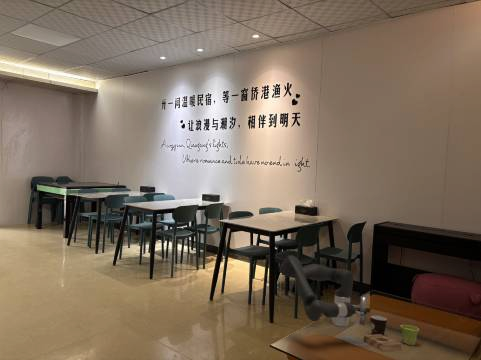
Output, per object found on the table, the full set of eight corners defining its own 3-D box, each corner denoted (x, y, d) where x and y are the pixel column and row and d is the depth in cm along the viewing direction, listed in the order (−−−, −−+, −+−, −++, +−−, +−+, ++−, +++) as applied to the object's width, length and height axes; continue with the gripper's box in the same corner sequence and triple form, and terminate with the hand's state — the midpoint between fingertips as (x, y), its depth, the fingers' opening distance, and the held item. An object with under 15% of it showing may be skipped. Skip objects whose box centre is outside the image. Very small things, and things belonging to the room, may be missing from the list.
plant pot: (415, 348, 200) (416, 331, 201) (397, 342, 206) (398, 326, 207) (420, 344, 207) (421, 328, 208) (403, 339, 213) (403, 323, 214)
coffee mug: (387, 339, 210) (388, 321, 211) (370, 337, 212) (372, 318, 213) (383, 333, 222) (384, 315, 222) (368, 330, 223) (369, 313, 224)
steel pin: (357, 323, 201) (359, 296, 202) (362, 322, 202) (364, 296, 203) (361, 325, 198) (363, 297, 199) (366, 324, 199) (368, 297, 201)
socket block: (363, 342, 202) (363, 335, 202) (380, 340, 207) (380, 334, 207) (383, 352, 189) (383, 345, 190) (400, 350, 194) (401, 343, 195)
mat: (337, 337, 206) (337, 336, 206) (351, 336, 210) (351, 335, 210) (355, 346, 193) (355, 346, 193) (370, 345, 198) (370, 344, 198)
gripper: (332, 313, 201) (357, 312, 208) (350, 321, 188) (376, 320, 195) (333, 299, 202) (358, 298, 209) (351, 306, 189) (377, 305, 196)
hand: (367, 309), depth 202 cm, fingers closed on steel pin, 3 cm apart
